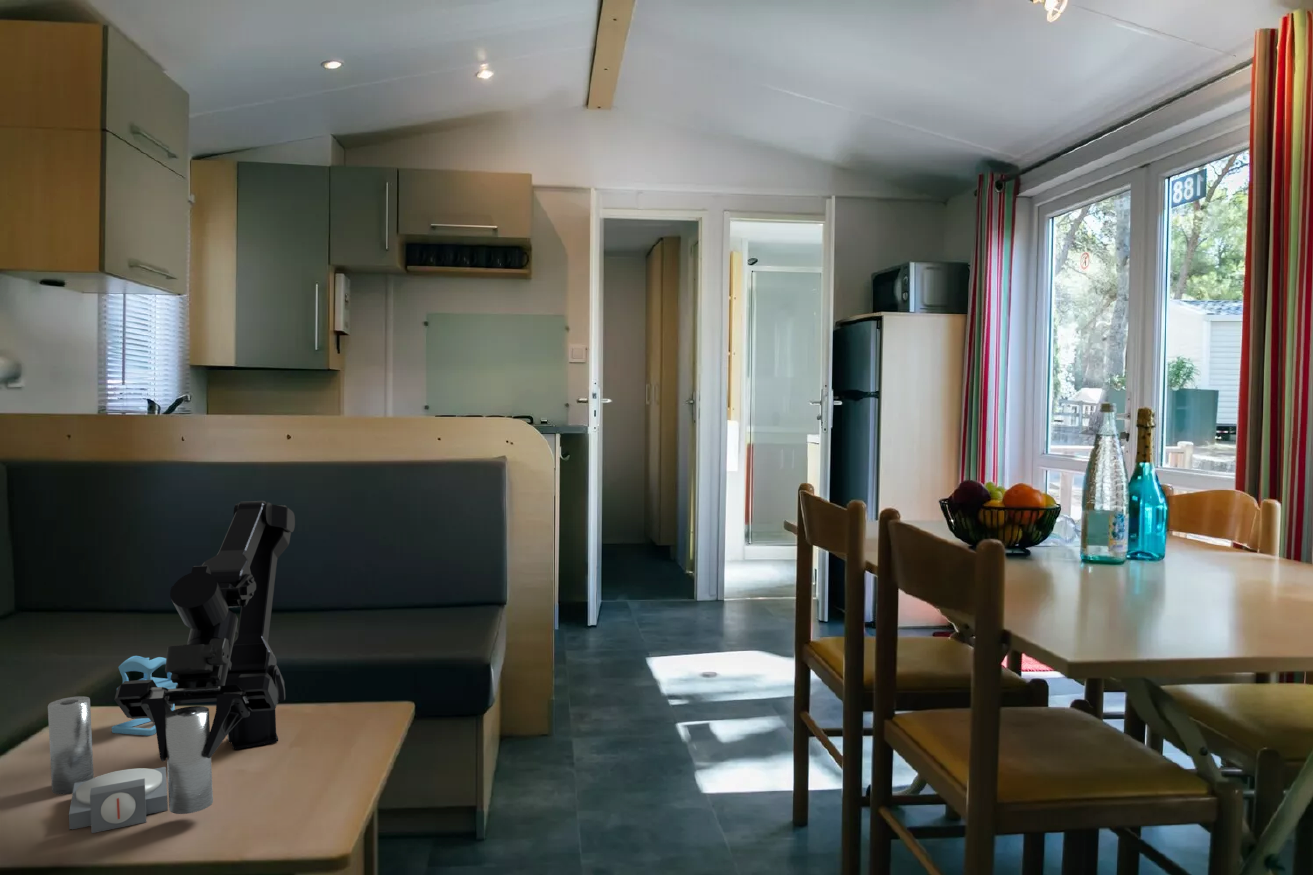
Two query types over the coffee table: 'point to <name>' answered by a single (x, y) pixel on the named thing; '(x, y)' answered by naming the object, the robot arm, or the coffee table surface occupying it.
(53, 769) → the cylinder
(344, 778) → the coffee table surface
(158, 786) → the scale
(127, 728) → the chair
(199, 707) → the silver metal cylinder
